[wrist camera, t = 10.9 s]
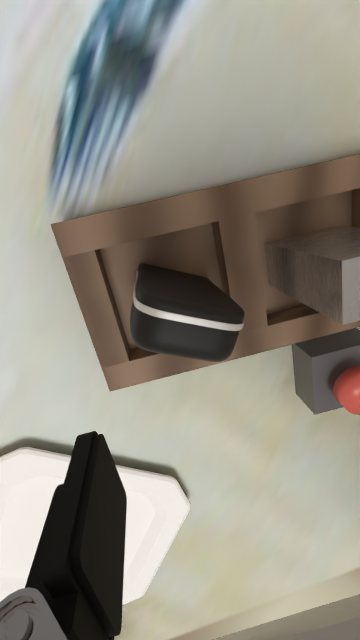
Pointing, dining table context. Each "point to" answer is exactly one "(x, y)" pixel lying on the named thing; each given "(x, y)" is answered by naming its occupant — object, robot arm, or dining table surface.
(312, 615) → the robot arm
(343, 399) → the button
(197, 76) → the dining table surface
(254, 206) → the wooden sorting tray
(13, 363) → the dining table surface
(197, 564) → the dining table surface
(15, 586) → the plate
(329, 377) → the button housing
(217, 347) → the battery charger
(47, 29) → the dining table surface
